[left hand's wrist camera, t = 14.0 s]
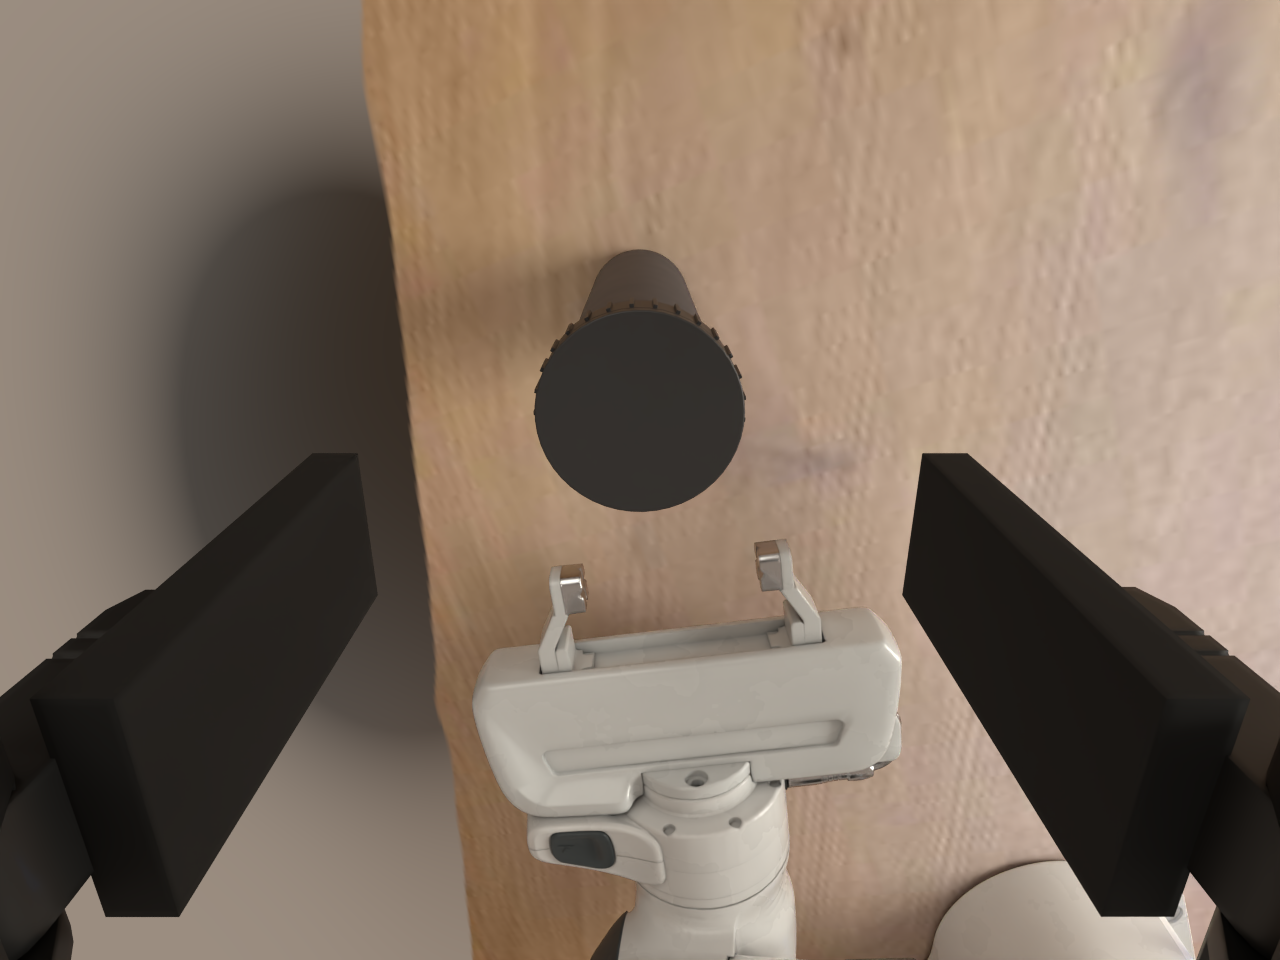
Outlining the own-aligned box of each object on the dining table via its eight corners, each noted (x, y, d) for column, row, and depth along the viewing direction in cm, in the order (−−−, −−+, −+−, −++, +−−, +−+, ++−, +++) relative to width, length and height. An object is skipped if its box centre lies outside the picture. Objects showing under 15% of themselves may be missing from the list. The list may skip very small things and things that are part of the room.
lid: (673, 254, 20) (676, 261, 18) (777, 429, 21) (786, 448, 20) (498, 367, 21) (487, 383, 19) (610, 524, 22) (608, 550, 21)
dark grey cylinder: (655, 230, 36) (669, 285, 19) (705, 313, 38) (760, 437, 20) (573, 283, 37) (515, 383, 20) (625, 363, 38) (613, 522, 21)
